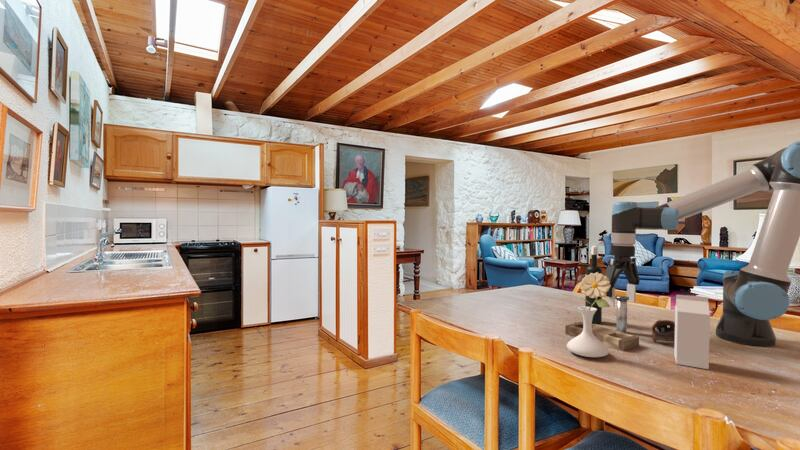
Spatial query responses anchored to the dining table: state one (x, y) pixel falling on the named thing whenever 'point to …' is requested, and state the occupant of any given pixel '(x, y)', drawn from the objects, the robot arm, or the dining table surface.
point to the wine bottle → (598, 314)
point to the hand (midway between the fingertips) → (620, 304)
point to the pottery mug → (663, 330)
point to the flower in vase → (590, 317)
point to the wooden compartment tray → (606, 336)
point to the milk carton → (692, 331)
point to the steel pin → (621, 313)
